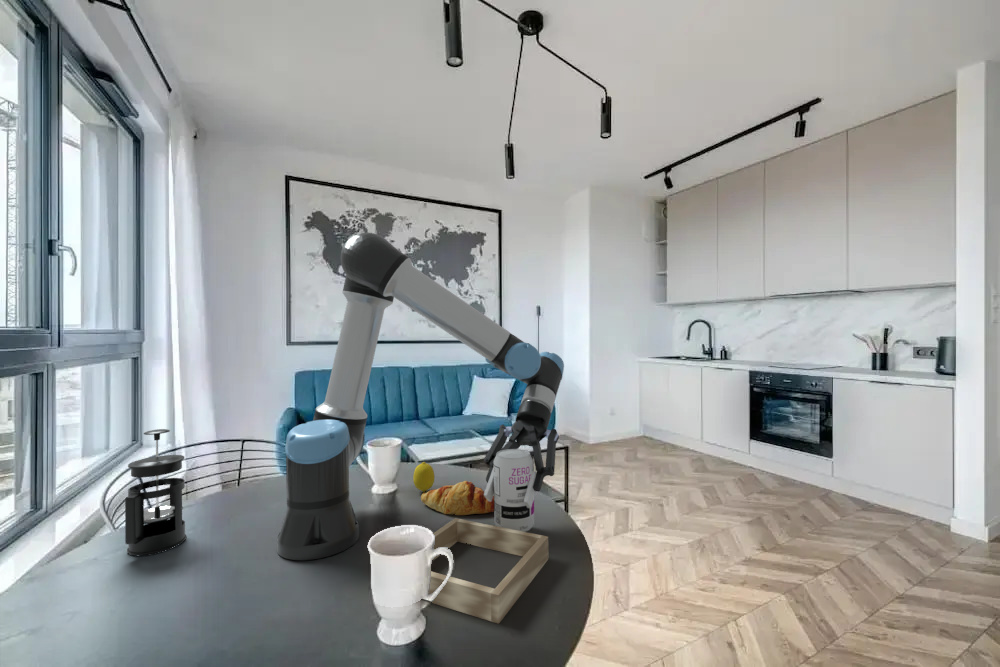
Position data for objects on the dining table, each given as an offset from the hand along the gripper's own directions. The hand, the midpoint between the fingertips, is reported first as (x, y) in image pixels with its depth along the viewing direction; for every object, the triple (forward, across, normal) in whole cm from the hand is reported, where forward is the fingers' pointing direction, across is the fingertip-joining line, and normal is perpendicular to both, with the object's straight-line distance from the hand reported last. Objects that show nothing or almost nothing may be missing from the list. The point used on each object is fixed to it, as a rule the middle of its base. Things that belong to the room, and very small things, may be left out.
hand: (507, 501), depth 87 cm
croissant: (-1, +17, -13) cm, 21 cm away
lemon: (-5, +32, -16) cm, 36 cm away
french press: (+28, +63, +17) cm, 71 cm away
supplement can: (+2, 0, -7) cm, 7 cm away
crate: (+15, 0, +4) cm, 16 cm away
